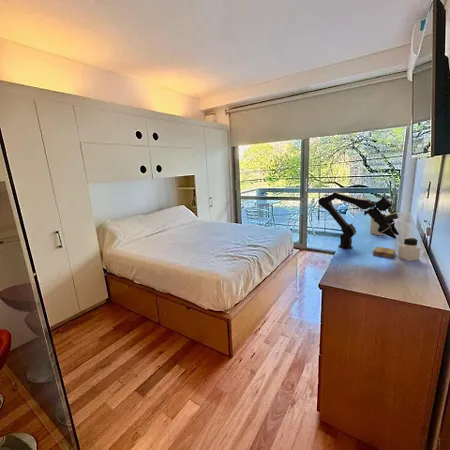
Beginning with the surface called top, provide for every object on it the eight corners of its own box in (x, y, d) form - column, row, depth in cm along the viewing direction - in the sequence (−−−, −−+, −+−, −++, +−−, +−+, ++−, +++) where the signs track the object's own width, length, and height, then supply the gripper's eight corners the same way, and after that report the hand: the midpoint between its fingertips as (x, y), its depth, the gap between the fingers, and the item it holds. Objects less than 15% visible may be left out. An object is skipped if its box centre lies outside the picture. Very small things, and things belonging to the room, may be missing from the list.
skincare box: (384, 234, 189) (386, 215, 186) (380, 236, 186) (382, 216, 183) (372, 232, 196) (374, 214, 193) (369, 233, 193) (371, 215, 190)
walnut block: (372, 255, 149) (373, 250, 148) (376, 250, 156) (376, 246, 156) (392, 259, 143) (392, 254, 142) (394, 254, 150) (395, 249, 149)
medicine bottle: (419, 260, 139) (422, 239, 136) (408, 261, 138) (411, 240, 135) (408, 255, 146) (410, 236, 143) (397, 256, 145) (400, 237, 142)
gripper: (386, 209, 136) (408, 231, 131) (392, 205, 150) (412, 225, 145) (369, 222, 143) (389, 243, 138) (376, 216, 157) (394, 235, 152)
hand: (397, 236), depth 143 cm, fingers open, 9 cm apart
